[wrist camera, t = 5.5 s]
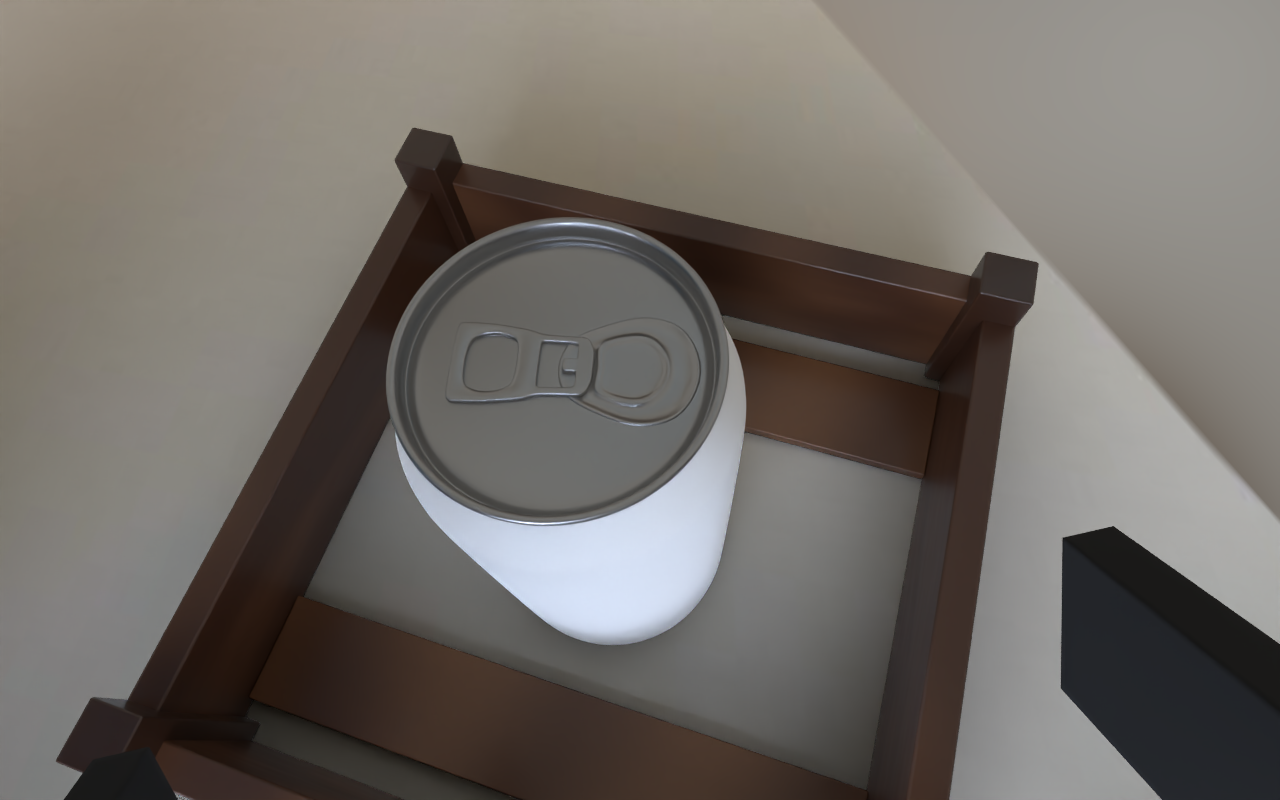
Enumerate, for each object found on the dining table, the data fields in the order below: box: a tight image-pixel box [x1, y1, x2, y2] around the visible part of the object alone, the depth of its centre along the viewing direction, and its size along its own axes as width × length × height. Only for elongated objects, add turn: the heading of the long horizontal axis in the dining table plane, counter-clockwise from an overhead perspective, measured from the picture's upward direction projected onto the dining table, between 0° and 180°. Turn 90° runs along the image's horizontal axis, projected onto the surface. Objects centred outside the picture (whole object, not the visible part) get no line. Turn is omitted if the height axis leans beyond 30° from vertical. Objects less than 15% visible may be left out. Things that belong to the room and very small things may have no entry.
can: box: [386, 217, 746, 645], centre depth 18 cm, size 6×6×12 cm
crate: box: [56, 128, 1038, 800], centre depth 21 cm, size 19×19×5 cm
